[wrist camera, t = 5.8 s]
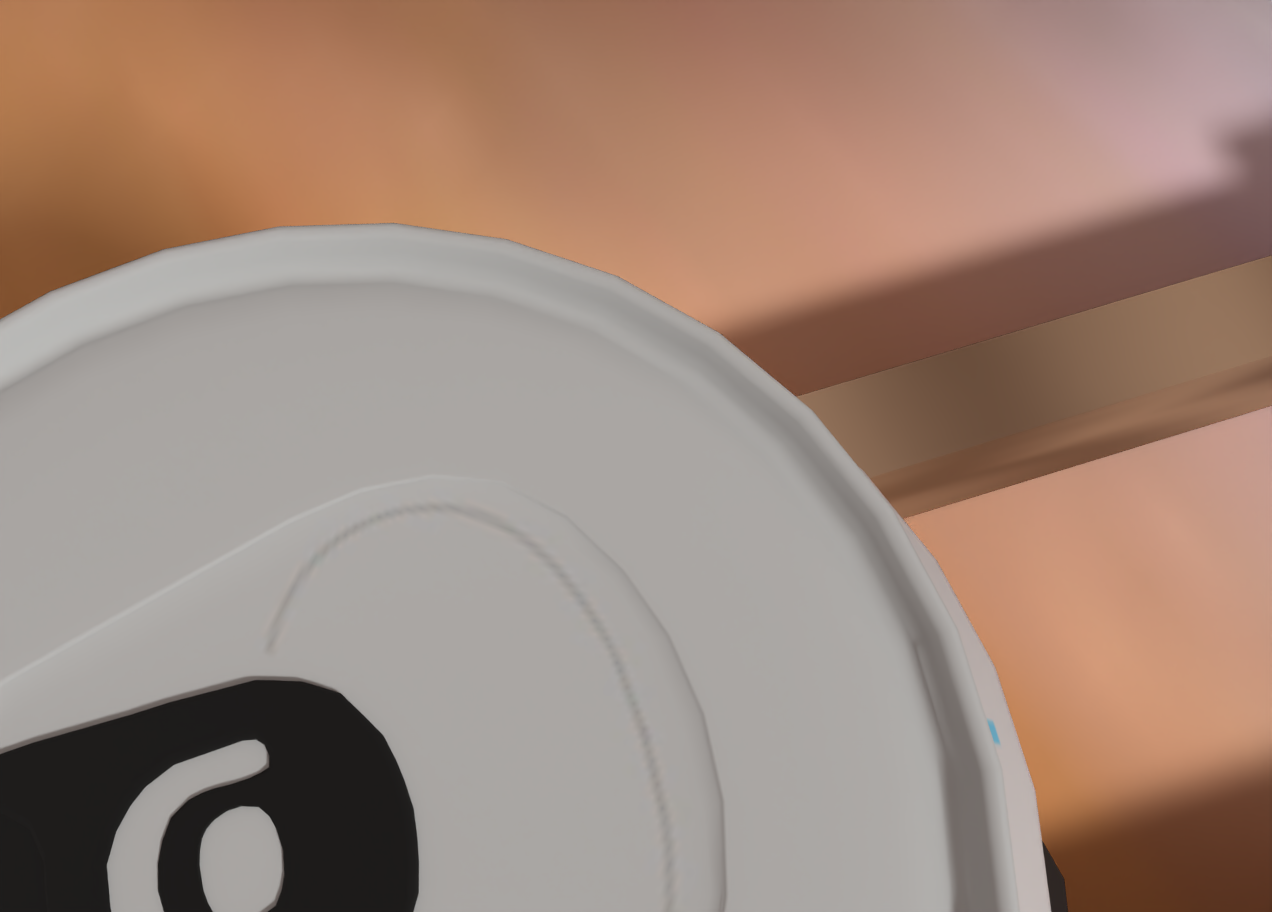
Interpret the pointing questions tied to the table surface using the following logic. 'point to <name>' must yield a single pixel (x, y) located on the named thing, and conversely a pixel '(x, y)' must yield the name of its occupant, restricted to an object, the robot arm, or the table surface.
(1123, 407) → the channel
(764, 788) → the energy drink can
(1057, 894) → the robot arm
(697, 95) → the table surface
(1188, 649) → the table surface
